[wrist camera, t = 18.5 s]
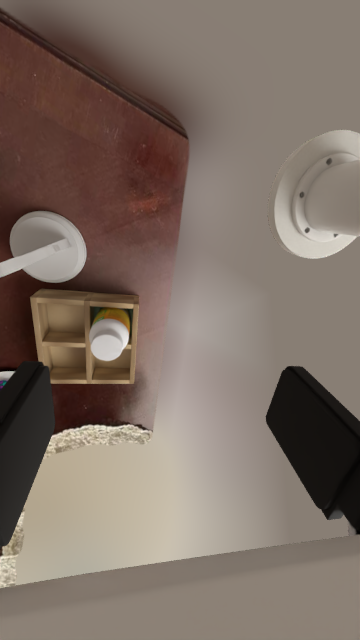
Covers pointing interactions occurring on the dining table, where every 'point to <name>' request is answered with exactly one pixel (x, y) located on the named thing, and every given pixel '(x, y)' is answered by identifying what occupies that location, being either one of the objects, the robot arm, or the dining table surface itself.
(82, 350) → the grid
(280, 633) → the robot arm
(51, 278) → the chess piece
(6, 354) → the dining table surface
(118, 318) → the supplement bottle
